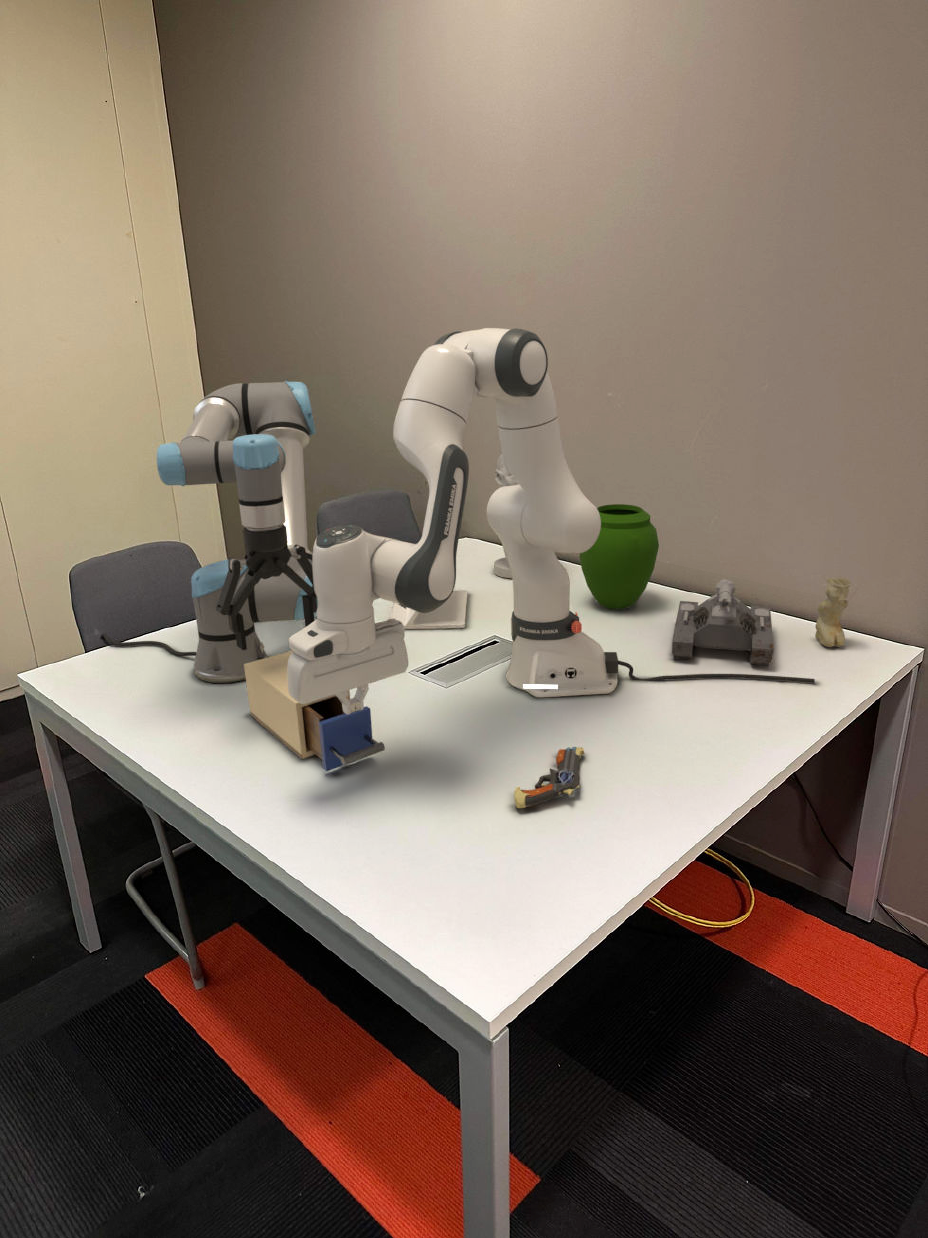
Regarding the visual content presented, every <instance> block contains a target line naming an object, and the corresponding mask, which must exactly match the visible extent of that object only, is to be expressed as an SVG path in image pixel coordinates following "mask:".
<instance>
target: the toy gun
mask: <svg viewBox="0 0 928 1238" xmlns="http://www.w3.org/2000/svg"><path fill="white" fill-rule="evenodd" d="M584 755H585V749H584V747H582V746H581V747H580V746H579V747H576V746H572V747H566V748H560V749H559V750H558V751H557V754H556V759H555V760H556V765H557V766H558V768H557V769H553V768H549V774H544V775H541V776H539V780H538V781H537V783H536V784H535V785H534V789H521V787H520V786H517V787H515V790H514V793H513V797H514V805H515V807H516V808H517V809H525V808H526V807H532V806H534V805H535V806H536V805H538V804H541V803H543V802H546V801H549V800H550V801H551V800H553V799H558V798H560V797H561V796H564V795H566V794H567V796H571V795H572V794H573V793H574V791H575V790H576V789H579V788H580V781H581V775H580V772H579V770H580V762H581V757H582V756H584ZM558 781H559V782H558ZM546 782H548V784H545V783H546Z"/></svg>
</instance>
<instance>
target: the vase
mask: <svg viewBox="0 0 928 1238" xmlns="http://www.w3.org/2000/svg"><path fill="white" fill-rule="evenodd" d="M596 508H597V510H598V511H599V514H600V518H601V529H600V533H599V536H598V538H597V540H596V542H595V543H594V545H593V546H592V547H591V548H590V549H589V550H587V551H585V552H583V553H578V554H579V562H580V569H581V571H582V574H583V577H584V580H585V583H586V585H587V588H588V590H589V591H590V594H592V597H593V598H594V600H595V601H596V602H597V603H598V604H599V605H600V606H602V607H604V608H606V609H609V610H625V609H628V608H630V607H632V606H634V604H636V602H638V601H639V599H640V597H641V596H642V595H643V593H644V592H645V590H646V588H647V586H648V584H649V581H650V579H651V577H652V574H653V572H654V570H655V566H656V562H657V557H658V552H659V548H660V544H659V543H660V542H659V537H658V531H657V528H656V527H655V526H654V524H653V523H652V522H651V515H650V514H649V512H647V511H645V510H644V509H643V508H642V507H641V506H638V505H633V504H622V503H621V504H619V503H616V504H615V503H614V504H604V505H601V506H598V507H596Z"/></svg>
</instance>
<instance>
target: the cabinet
mask: <svg viewBox="0 0 928 1238" xmlns="http://www.w3.org/2000/svg"><path fill="white" fill-rule="evenodd" d="M293 652H294V651H293V650H290V651H285V652H283V653H279V654H275V655H272V656H267V658H264V659H260V660H257V661H253V662H250V663H246V664H244V669H245V676H246V679H245V682H246V683H245V684H246V690H247V698H248V707H249V715H250V717H252V718H253V719H254V720H255V721H256V722H257V723H259V725H261V726H262V727H263V728H264V729H266V730H267V731H268V732H269V733H270V734H271V735H273V736H274V737H275V739H277V740H279V741H280V743H282V744H283V745H284V746H286V747H287V748H288V749H289V750H290V752H292V753H294V754H295V755H296V756H297V757H298V758H299V759H300V760H304V759H307V758H309V757H312V756H316V754H315V753H313V752H312V751H311V750H310V749H309V748H307V747H306V743H305V733H304V724H303V714H302V707H304V706H307V705H310V704H313V703H316V702H319V701H323V700H326V699H329V698H332V697H335V696H336V695H332V696H328V697H325V698H322V699H319V700H316V701H313V702H310V703H307V704H300V703H299V702H297V701H296V700H294V699H293V698H292V697H291V696H290V694H289V692H288V682H287V665H288V660H289V657H290V655H291V654H292V653H293ZM350 690H351V689H350ZM350 690H348V694H349V695H348V696H345V697H346V698H347V700H349V699H351V691H350Z"/></svg>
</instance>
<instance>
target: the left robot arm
mask: <svg viewBox="0 0 928 1238" xmlns="http://www.w3.org/2000/svg"><path fill="white" fill-rule="evenodd" d="M316 432H317V431H316V425H315V419H314V415H313V410H312V405H311V401H310V395H309V390H308V387H307V384H305V383H304V382H301V381H288V380H284V381H280V382H279V381H278V382H277V381H275V382H273V381H272V382H249V383H243V382H241V383H240V382H239V383H233V384H229V385H225V386H223V387H220V388H218V389H216V390H214V391H212V392H211V393H209V394H207V395H206V396H204V397H203V398H202V399H201V400H200V401H199V402H198V404H196V406H195V408H194V410H193V414H192V422H191V424H190V425H189V427H188V428H187V430H186V431H185V433H184V435H183V437H182V438H181V440H180V441H179V442H176V441H175V442H174V441H172V442H169V443H162V444H160V445H158V448H157V450H156V466H157V473H158V476H159V478H160V480H161V481H160V482H162V484H164V485H166V486H181V487H185V486H198V485H199V486H200V485H214V484H217V485H218V484H234V483H235V484H236V486H237V494H238V504H239V514H240V521H241V526H243V529H242V537H243V538H242V539H243V545H244V551H245V555H244V558H234V557H229V558H228V559H224V560H219V561H215V562H212V563H209V564H207V565H204V566H202V567H200V568H198V569H197V570H196V571H195V572H193V574H192V575H191V579H190V583H191V584H190V585H191V597H192V602H193V608H194V615H195V620H196V628H197V633H198V643H197V648H196V651H178V650H175V649H174V648H173V647H171V646H170V645H168V644H167V643H164V642H161V641H157V640H141V641H140V640H139V641H128V642H127V641H125V642H124V641H123V642H122V641H121V642H120V641H113V640H111V638H110V637H109V636H108V634H107V633H105V632H103V633H102V634H101V635H100V637H99V639H104V640H105V642H106V643H107V644H109V645H110V646H115V647H135V646H149V645H150V646H159V647H161V648H164V649H166V650H167V651H168V652H169V653H171V654H173V655H175V656H179V657H193V656H194V657H195V658H194V662H193V669H194V674H195V676H196V678H198V679H199V680H201V681H204V682H207V683H213V684H228V683H236V682H241V681H246V676H245V669H244V664H246V663H250V662H253V661H257V660H260V659H264V658H268V654H267V653H266V650H265V645H264V643H263V641H261V640H260V638H259V636H258V634H257V631H256V626H255V624H256V623H270V622H272V623H273V622H286V621H295V622H299V621H300V620H304V628H305V627H307V626H308V625H310V624H311V623H312V622H314V621H315V618H317V615H316V613H317V607H318V599H317V596H316V593H315V591H314V583H313V569H312V557H313V552H312V551H310V550H309V546H308V525H307V524H308V523H307V505H306V502H307V501H306V485H305V483H306V482H305V467H304V465H305V464H304V449H305V448H306V447H308V445H309V444H310V436H313V435H315V434H316ZM233 438H234V439H233ZM231 439H233V440H231Z"/></svg>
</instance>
